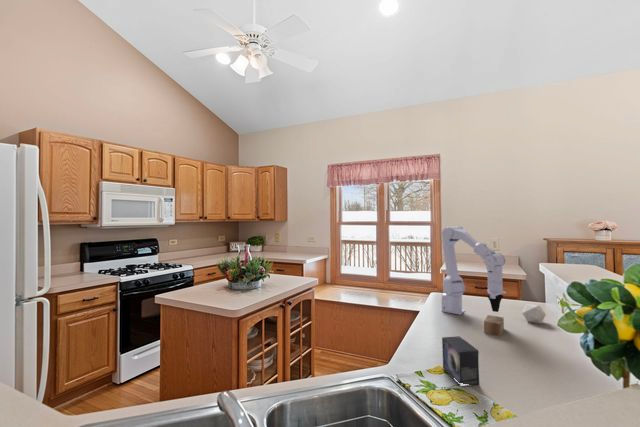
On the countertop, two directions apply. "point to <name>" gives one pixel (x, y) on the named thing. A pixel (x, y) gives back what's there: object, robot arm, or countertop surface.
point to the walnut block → (494, 325)
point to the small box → (460, 360)
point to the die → (533, 313)
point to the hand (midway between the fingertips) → (495, 311)
